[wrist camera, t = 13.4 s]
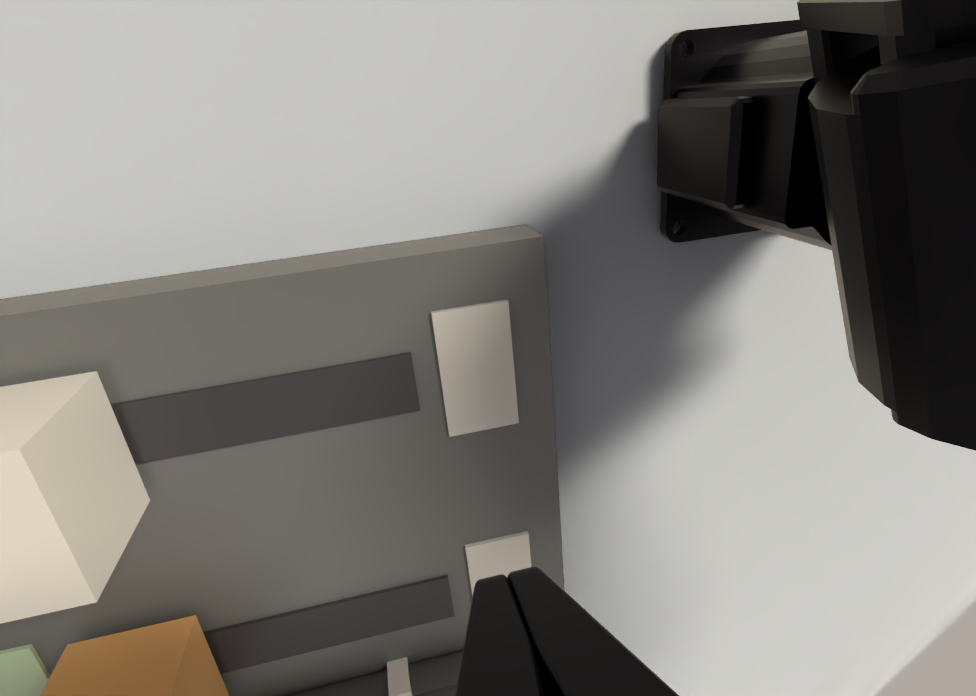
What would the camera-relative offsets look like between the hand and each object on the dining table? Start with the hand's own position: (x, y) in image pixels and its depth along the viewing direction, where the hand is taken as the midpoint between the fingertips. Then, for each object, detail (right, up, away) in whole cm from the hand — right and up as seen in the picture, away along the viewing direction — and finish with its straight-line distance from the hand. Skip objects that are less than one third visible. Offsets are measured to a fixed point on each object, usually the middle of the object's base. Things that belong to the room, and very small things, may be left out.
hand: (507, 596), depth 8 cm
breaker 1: (-13, 0, +9) cm, 15 cm away
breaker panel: (-9, -3, +13) cm, 16 cm away
